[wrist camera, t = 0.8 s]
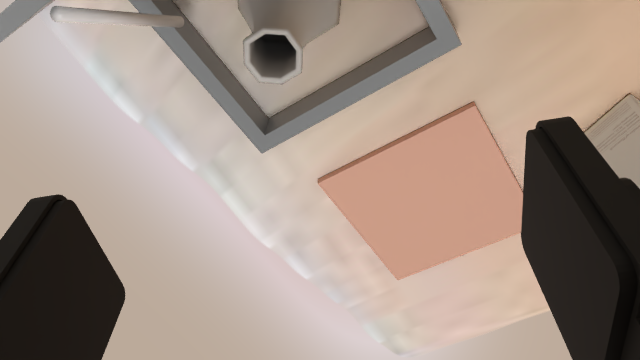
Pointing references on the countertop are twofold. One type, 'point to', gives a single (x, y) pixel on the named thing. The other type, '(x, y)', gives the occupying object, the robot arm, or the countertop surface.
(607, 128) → the supplement box
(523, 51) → the countertop surface
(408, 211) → the plate
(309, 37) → the flask
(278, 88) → the countertop surface
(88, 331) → the robot arm
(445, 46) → the case
